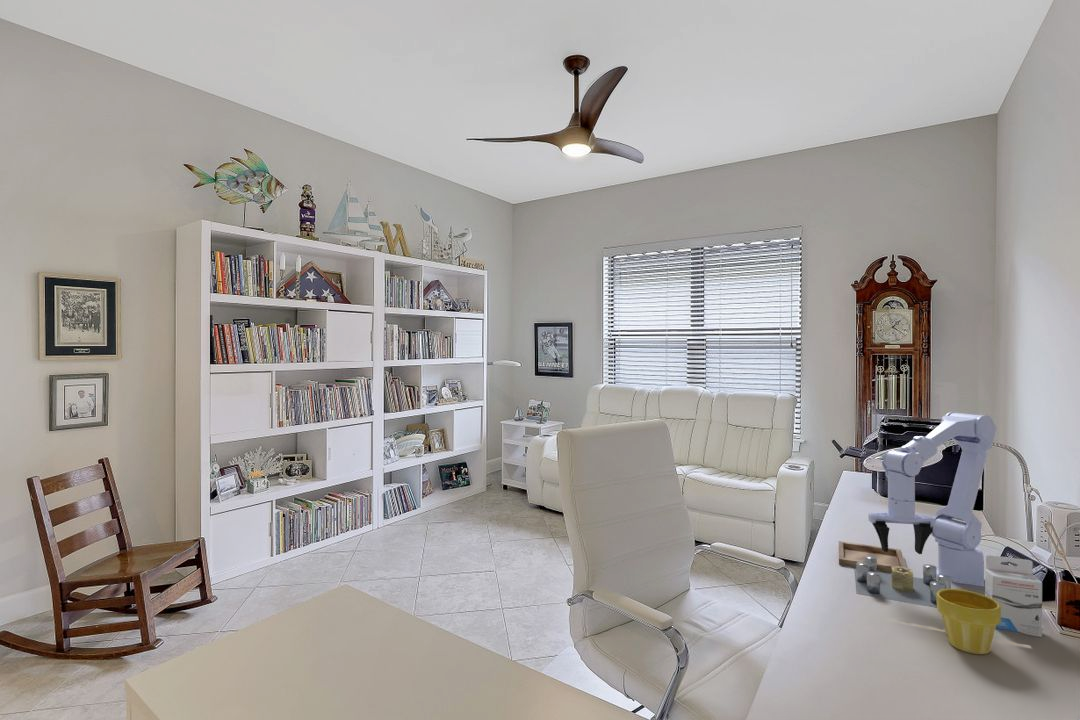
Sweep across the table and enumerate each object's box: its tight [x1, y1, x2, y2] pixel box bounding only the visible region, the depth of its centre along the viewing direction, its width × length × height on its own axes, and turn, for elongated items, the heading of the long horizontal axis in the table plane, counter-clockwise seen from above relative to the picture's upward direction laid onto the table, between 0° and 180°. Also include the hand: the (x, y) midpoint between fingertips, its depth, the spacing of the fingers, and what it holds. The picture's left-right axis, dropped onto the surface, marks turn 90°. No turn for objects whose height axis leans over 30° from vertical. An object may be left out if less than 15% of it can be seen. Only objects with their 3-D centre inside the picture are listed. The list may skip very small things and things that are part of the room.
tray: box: [838, 540, 907, 573], centre depth 156 cm, size 16×16×2 cm
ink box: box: [984, 554, 1043, 638], centre depth 117 cm, size 9×5×15 cm, turn 65°
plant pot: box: [936, 588, 1001, 655], centre depth 111 cm, size 10×10×10 cm
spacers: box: [855, 556, 952, 605], centre depth 137 cm, size 20×15×4 cm
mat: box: [853, 567, 937, 609], centre depth 137 cm, size 21×18×1 cm
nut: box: [890, 567, 914, 592], centre depth 137 cm, size 4×5×5 cm
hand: (901, 551), depth 137 cm, fingers open, 7 cm apart
